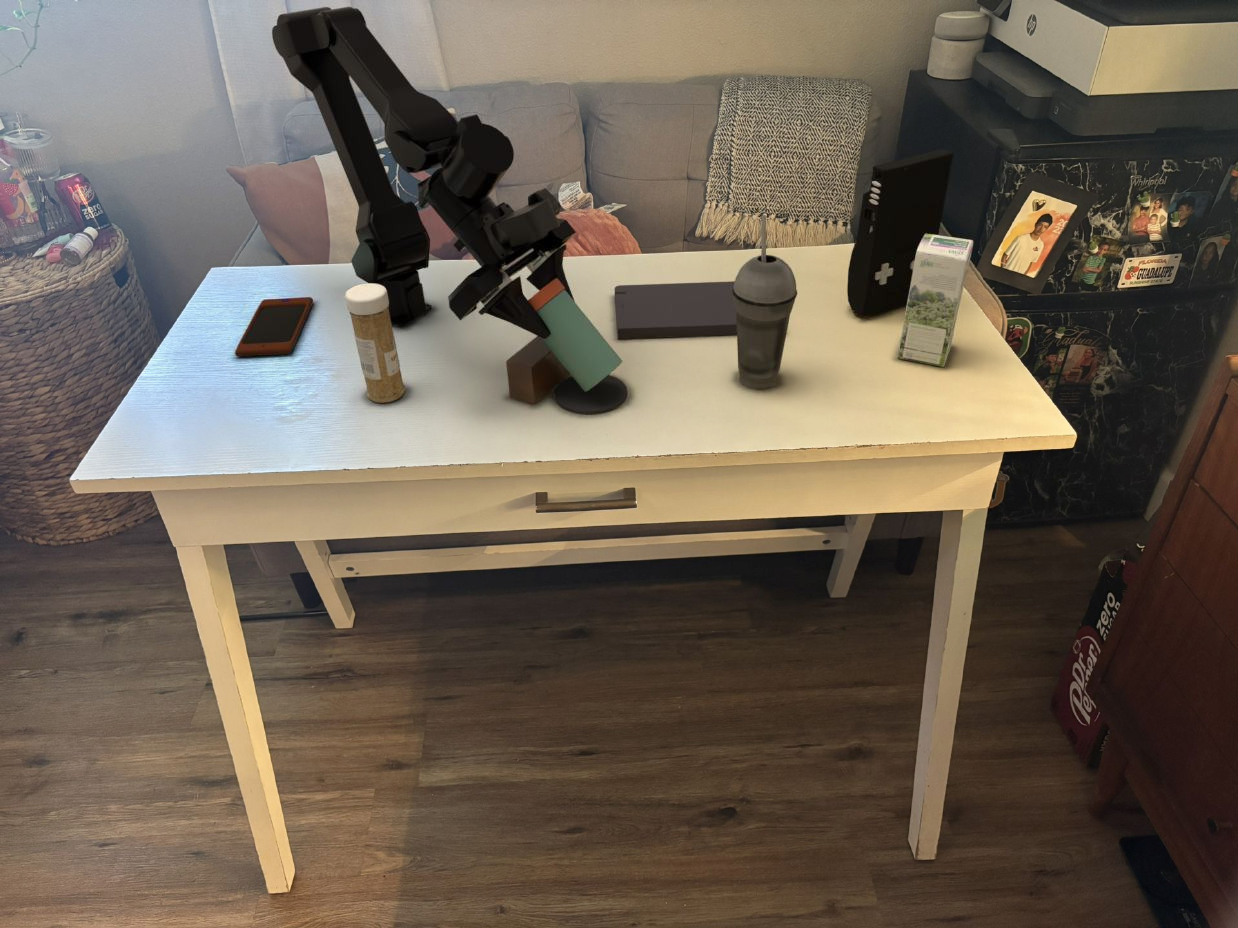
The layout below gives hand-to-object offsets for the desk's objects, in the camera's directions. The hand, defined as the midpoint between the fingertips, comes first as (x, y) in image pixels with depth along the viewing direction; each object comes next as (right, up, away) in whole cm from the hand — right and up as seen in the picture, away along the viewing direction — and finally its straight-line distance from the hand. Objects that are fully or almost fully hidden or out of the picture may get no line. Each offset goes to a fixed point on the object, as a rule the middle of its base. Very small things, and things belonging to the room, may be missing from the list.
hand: (562, 325), depth 106 cm
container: (+1, -6, +4) cm, 7 cm away
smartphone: (-39, +2, +18) cm, 43 cm away
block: (-2, -6, +6) cm, 9 cm away
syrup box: (+44, -2, +10) cm, 46 cm away
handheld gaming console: (+43, +6, +20) cm, 48 cm away
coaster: (+3, -8, +4) cm, 9 cm away
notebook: (+17, +4, +20) cm, 26 cm away
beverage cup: (+23, -6, +6) cm, 24 cm away
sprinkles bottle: (-21, -8, +5) cm, 23 cm away
